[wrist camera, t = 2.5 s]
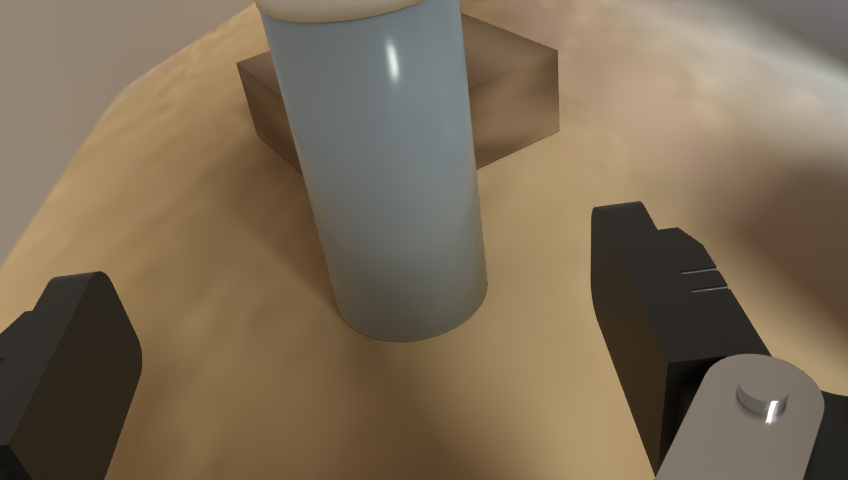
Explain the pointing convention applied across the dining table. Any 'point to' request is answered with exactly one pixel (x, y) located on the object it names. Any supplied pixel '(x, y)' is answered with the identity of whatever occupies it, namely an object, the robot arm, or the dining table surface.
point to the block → (487, 85)
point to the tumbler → (385, 156)
